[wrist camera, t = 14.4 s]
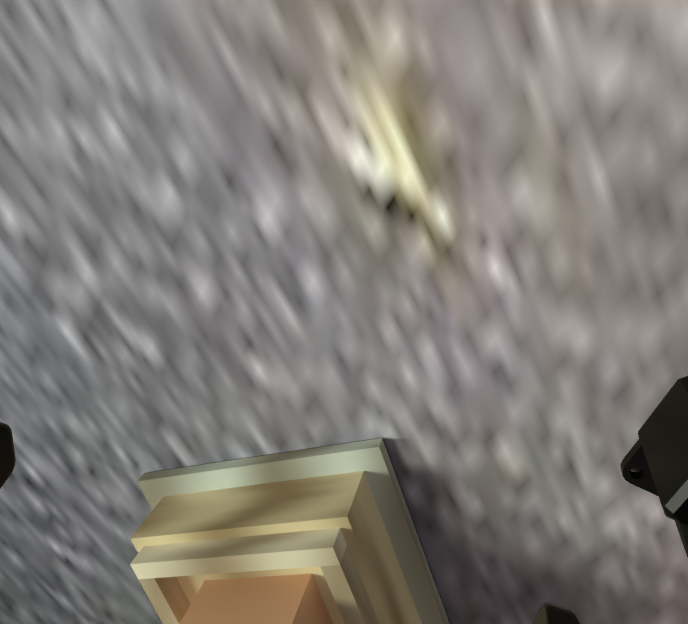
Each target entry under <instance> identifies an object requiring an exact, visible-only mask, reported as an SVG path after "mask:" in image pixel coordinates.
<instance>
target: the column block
mask: <svg viewBox="0 0 688 624" xmlns="http://www.w3.org/2000/svg"><path fill="white" fill-rule="evenodd" d="M179 624H333V622H332V620H331V617H330V615H329V613H328V610H327V608H326V606H325V604H324V601H323V599H322V597H321V594H320V592H319V590H318V588H317V585H316V583H315V581H314V578H313V576H312V574H296V575H280V576H265V577H249V578H233V579H217V580H205V581H204V582H203V584H202V586H201V587H200V589H199V591H198V593H197V594H196V596H195V598H194V599H193V601H192V603H191V605H190V606H189V608H188V610H187V611H186V613H185V615H184V617H183V618H182V620H181V622H180V623H179Z"/></svg>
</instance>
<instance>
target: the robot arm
mask: <svg viewBox="0 0 688 624" xmlns="http://www.w3.org/2000/svg"><path fill="white" fill-rule="evenodd" d="M638 435H639V440H638V441H637V442H636V443H635V445H634V446H633V447H632V449H631V450H630V451H629V453H628V454H627V455H626V456H625V458H624V459H623V460H622V463H621V471H622V475H623V477H624V478H625V480H626V481H628V482H629V483H631V484H633V485H635V486H638V487H640V488H642V489H644V490H646V491H648V492H651V493H653V494H655V495H657V496H659V498H660V501H661V504H662V507H663V510H664V513H665V515H666V516H667V517H669V518H671V519H673V520H675V523H676V526H677V528H678V531H679V534H680V537H681V540H682V543H683V546H684V548H685V551H686V554H687V557H688V376H686V377H683V378H680V379H678V380H677V382H676V383H675V384H674V386H673V387H672V388H671V389H670V391H669V392H668V393H667V395H666V396H665V397H664V399H663V400H662V401H661V402H660V404H659V405H658V406H657V408H656V409H655V410H654V412H653V413H652V414H651V416H650V417H649V418H648V419H647V421H646V422H645V423H644V425H643V426H642V427H641V429H640V430H639V431H638ZM15 461H16V459H15V451H14V444H13V436H12V431H11V428H10V427H9V425H7V424H5V423H2V422H0V488H1V487H2V486H3V484H4V483H5V482H6V480H7V479H8V478H9V476H10V475H11V473H12V471H13V469H14V466H15ZM635 467H640V468H643V469H642V470H641V471H639V472H633V471H631V469H633V468H635ZM533 624H580V623H579V621H578V619H577V617H576V615H575V614H574V613H573V612H572V611H571V610H569V609H566V608H563V607H560V606H557V605H554V604H551V603H544V604H543V605H542V606H541V608H540V610H539V612H538V614H537V616H536V618H535V620H534V622H533Z"/></svg>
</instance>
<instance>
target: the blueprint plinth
mask: <svg viewBox="0 0 688 624" xmlns="http://www.w3.org/2000/svg"><path fill="white" fill-rule="evenodd" d="M137 482H138V484H139V486H140V487H141V489H142V491H143V493H144V495H145V497H146V499H147V501H148V503H149V505H150V507H151V508H152V510H153V511H152V512H151V513H150V515H149V516H148V517H147V518H146V520H145V521H144V522H143V524H142V525H141V526H140V527H139V529H138V530H137V531H136V532H135V534H134V535H133V536H132V538H131V540H132V542H133V544H134V546H135V548H136V550H137V551H138V554H137V556H136V557H135V558H134V560H133V561H132V562H131V564H130V565H131V567H132V569H133V570H134V572H135V574H136V576H137V578H138V579H139V581H140V583H141V585H142V587H143V588H144V590H145V592H146V594H147V596H148V597H149V599H150V601H151V603H152V605H153V606H154V608H155V610H156V612H157V614H158V615H159V617H160V619H161V621H162V622H163V624H179V623H180V622H181V620H182V618H183V617H184V615H185V613H186V611H187V610H188V608H189V606H190V605H191V603H192V601H193V599H194V598H195V596H196V594H197V593H198V591H199V589H200V587H201V586H202V584H203V582H204V581H205V580H217V579H233V578H249V577H265V576H280V575H296V574H312V576H313V578H314V581H315V583H316V585H317V588H318V590H319V592H320V594H321V597H322V599H323V601H324V604H325V606H326V608H327V610H328V613H329V615H330V617H331V620H332V622H333V624H450V623H449V621H448V618H447V615H446V612H445V610H444V607H443V604H442V601H441V599H440V596H439V593H438V590H437V588H436V585H435V582H434V579H433V577H432V574H431V571H430V568H429V566H428V563H427V560H426V557H425V555H424V552H423V549H422V546H421V544H420V541H419V538H418V535H417V533H416V530H415V527H414V524H413V522H412V519H411V516H410V513H409V511H408V508H407V505H406V502H405V500H404V497H403V494H402V491H401V489H400V486H399V483H398V480H397V478H396V475H395V472H394V469H393V467H392V464H391V461H390V458H389V456H388V453H387V450H386V447H385V445H384V442H383V439H382V438H379V439H372V440H366V441H359V442H352V443H345V444H339V445H332V446H325V447H318V448H312V449H305V450H298V451H291V452H285V453H278V454H271V455H264V456H258V457H251V458H244V459H237V460H231V461H224V462H217V463H210V464H204V465H197V466H190V467H183V468H177V469H170V470H163V471H156V472H150V473H144V474H143V475H142V477H141V478H140V479H139V480H138V481H137Z"/></svg>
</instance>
